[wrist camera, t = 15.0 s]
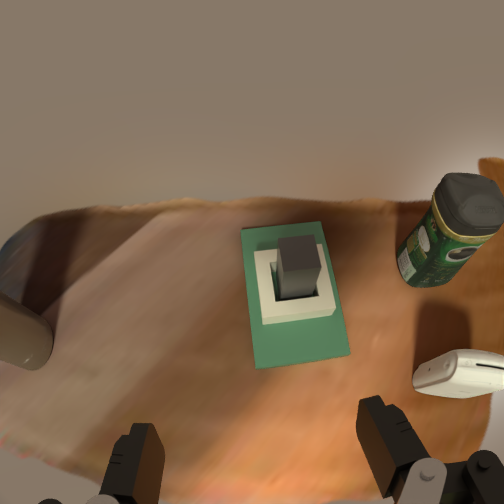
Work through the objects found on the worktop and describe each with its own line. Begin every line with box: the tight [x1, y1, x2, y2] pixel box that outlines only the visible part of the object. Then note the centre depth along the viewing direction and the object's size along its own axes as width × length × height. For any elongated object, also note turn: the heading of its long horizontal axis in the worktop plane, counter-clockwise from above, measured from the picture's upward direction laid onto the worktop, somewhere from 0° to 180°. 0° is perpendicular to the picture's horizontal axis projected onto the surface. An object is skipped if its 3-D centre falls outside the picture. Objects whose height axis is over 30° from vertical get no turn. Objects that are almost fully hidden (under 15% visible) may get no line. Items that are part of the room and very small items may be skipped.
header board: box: [240, 221, 350, 370], centre depth 42 cm, size 12×20×4 cm, turn 6°
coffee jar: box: [397, 173, 504, 288], centre depth 36 cm, size 10×8×19 cm
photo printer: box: [412, 349, 504, 398], centre depth 30 cm, size 10×4×12 cm, turn 72°
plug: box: [276, 234, 322, 301], centre depth 38 cm, size 4×5×10 cm
